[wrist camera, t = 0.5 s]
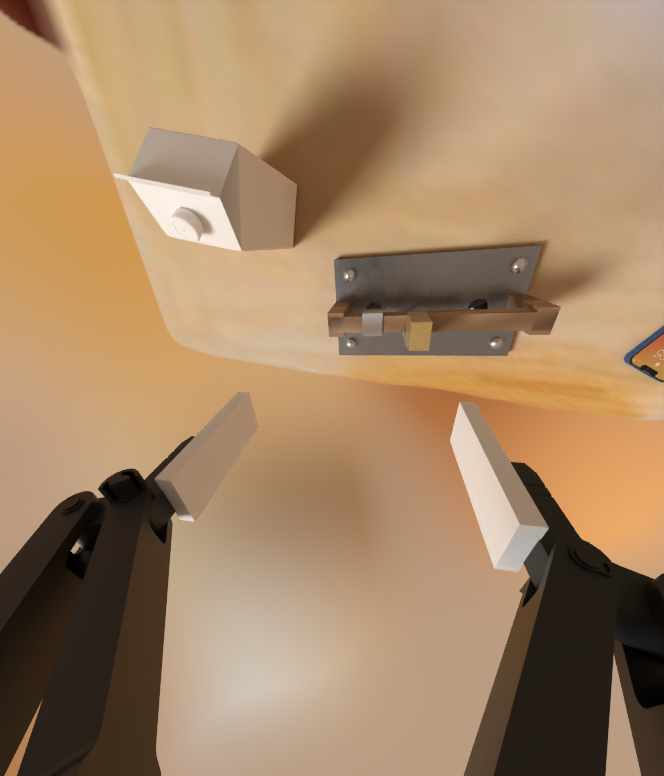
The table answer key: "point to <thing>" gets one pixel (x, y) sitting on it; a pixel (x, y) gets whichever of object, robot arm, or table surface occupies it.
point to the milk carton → (213, 192)
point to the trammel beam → (449, 319)
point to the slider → (417, 331)
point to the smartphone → (649, 356)
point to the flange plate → (435, 295)
